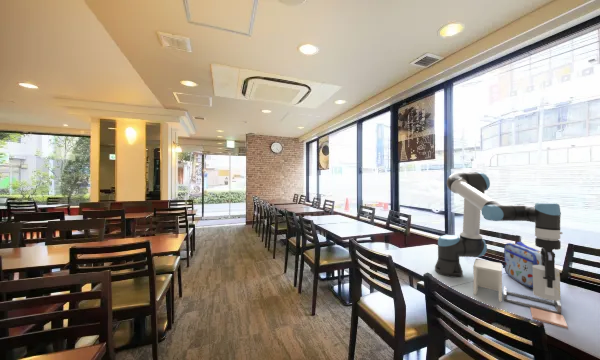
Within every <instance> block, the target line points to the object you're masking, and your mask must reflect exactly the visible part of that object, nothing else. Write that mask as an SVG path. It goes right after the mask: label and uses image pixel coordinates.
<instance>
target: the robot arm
mask: <svg viewBox="0 0 600 360" xmlns="http://www.w3.org/2000/svg"><path fill="white" fill-rule="evenodd" d="M490 186H491V181H490V178H489V176H487V174H485V173H483V172H479V171H473V172H471V171H469V172H464V171H463V172H462V171H459V172H454V173H452V174H451V175H449V176H448V177H447V179H446V187H447V188H448V190H450V191H451V192H452V193H453V194H456V195H459V196H461V197H462V198H463V218H462V219H463V221H462V222H463V223H462V232H460V234H459V236H458V235H453V234H444V235H440V236H439V237H438V239H437V260H436V263H435V266H434V271H435V272H436V273H438V274H440V275H443V276H446V277H449V278H450V277H452V278H461V277H463V275H464V274H463V273H464V272H463V269H462V265H461V263H460V257H462V258H463V257H464V258H478V257H479V258H480V257H481V258H482V257H483V256H484V255H486V253H487V250H488V246H487V245H488V244H486V243H487V242H486V240H485V239H483V236H482V235H480V234H481V233H480V232H481V231H480V228H481V227H480V226H481V215H482V216H483V218H484V219H485V220H486V221H491V222H501V221H502V222H507V221H509V222H529V223H534V224H535V225H534V237H535V238H534V239H535V240H534V241H535V242H534V243H535V244H534V245H535V247H538V248H540V249H541V250H540V251H541V259H542V263H541V265H543V266H545V277H543V279H545V294H547V295H551V296H554V280H555V268H556V265H555V263H556V261H555V258H556V254H555V252H554V250H555V251H556V250H557V251H559V250H561V248H562V246H561V240H560V239H561V235H563V232H562V231H561V218H562V217H561V215H562V212H561V206H560V204H558V203H555V202H544V201H543V202H542V201H541V202H539V201H538V202H536V203H535V204H534V205H529V204H528V205H527V204H521V203H520V204H517V203H516V204H501V203H499V202H498V201H497V200H496V201H495V200H494V199H493V198H491V197H489V196H488V195H487V194H485V192H486V191H488V190H489V188H490ZM550 276H551V277H550Z"/></svg>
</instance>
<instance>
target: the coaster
mask: <svg viewBox="0 0 600 360" xmlns="http://www.w3.org/2000/svg"><path fill="white" fill-rule="evenodd" d="M529 309H530V312H531V316H532V320H536V321H539V322H543V323H547V324H550V323H551V324H552V325H554V326H558V327H562V328H565V329H568V327H569V326H568V324H567V322H566V319H565V317H564V315H562V314H561V315H559V314H555V313H551V312H547V311H543V310H540V309H536V308H532V307H529ZM551 324H550V325H551Z"/></svg>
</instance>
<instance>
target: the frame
mask: <svg viewBox="0 0 600 360" xmlns="http://www.w3.org/2000/svg"><path fill="white" fill-rule="evenodd" d="M507 295H509V296H510V295H511V296H515V297H519V298H523V299H527V300H531V301H535V302H539V303H544V304H548V305H552V306H554V307H555V309H551V308H546V307H542V306H538V305H536V304H531V303H527V302H523V301H519V300H515V299H510V298H508V297H507ZM503 301H504V302H509V303H512V304H517V305H521V306H525V307H528V308H530V307H532V308H536V309H540V310H543V311H547V312H551V313H555V314H559V315H562V305H561V302H560V300H559V301H552V300H547V299H544V298H539V297H538V298H537V297H533V296H528V295H525V294H521V293H516V292H511V291H508V290H507V286H503Z"/></svg>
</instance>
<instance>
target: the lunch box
mask: <svg viewBox="0 0 600 360" xmlns="http://www.w3.org/2000/svg"><path fill="white" fill-rule="evenodd" d="M503 250H504V251H503V255H504V257H503V258H504V261H503V262H502V269H504V272H505V274H507V276H508V277H510V278H511V279H513V280H515V281H516V282H518V283H520V284H522V285H523V286H526V287H528V288H532V289H533V270H532V266H533V265H541V263H542V259H541V250H538V249H535V248H533V247H530V246H528V245H526V244H525V243H524V242H522V241H516V242H515V243H514V242H507V243H506V244H504V249H503Z"/></svg>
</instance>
